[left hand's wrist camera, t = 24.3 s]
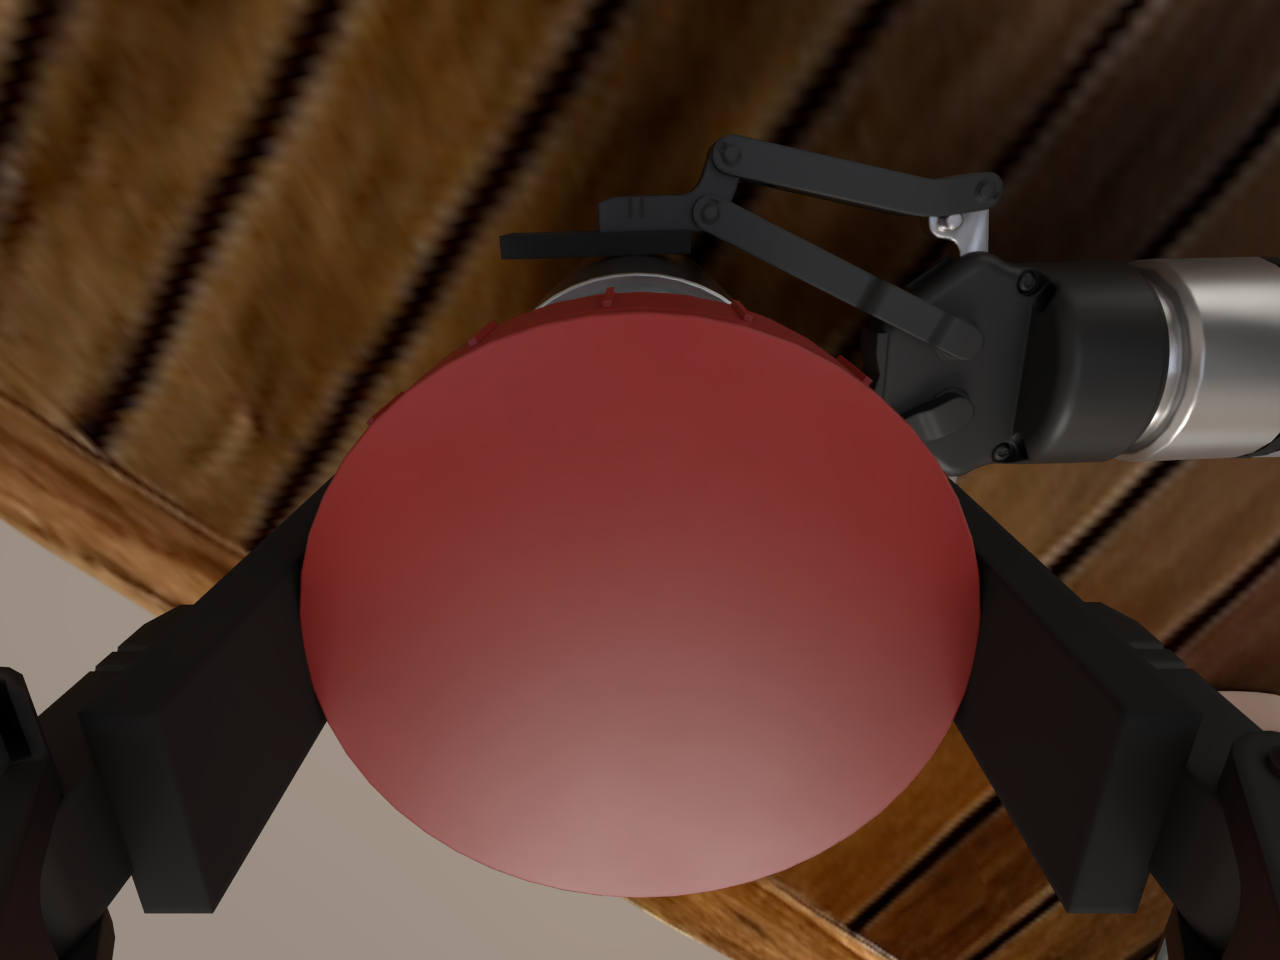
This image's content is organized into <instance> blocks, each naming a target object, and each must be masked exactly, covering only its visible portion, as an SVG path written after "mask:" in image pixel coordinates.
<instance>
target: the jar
mask: <svg viewBox="0 0 1280 960" xmlns="http://www.w3.org/2000/svg"><path fill="white" fill-rule="evenodd" d="M609 287H614V288H615V293H626V292H656V293H669V294H683V295H690V296H695V297H699V298H704V299H709V300H713V301H718V302H723V303H728V304H731V302H732V299H733V298H732V297H731V296H730V295H729V294H728V293H727V292H726V291H725V290H724V289H723V288H722V287H721V286H720V285H719V284H718V283H717V282H716V281H715V280H714V279H713V278H712V277H711V276H710V275H709V274H708V273H707V272H706V271H705V270H704V269H703V268H701V267H700V266H699V265H698V264H696V263H695V262H694V261H692V260H691V259H689V258H687V257H686V256H684V255H682V254H672V255H635V256H602V257H588V258H586V259H585V260H584V261H582V262H581V263H579V264H578V265H577V266H575V267H574V268H573V269H572V270H571V271H570V272H569V273H568V274H567V275H566V276H565V277H564V278H563V279H562V280H561V281H560V282H559V283H558V284H557V285H556V286H555V287H554V288H553V289H552V290H551V291H550V292H549V293H548V294H547V295H546V296H545V297H544V298H543V299H542V300H541V301H540V302H539V303H538V304H537V305H536V306H535V307H534V308H533V309H532V310H531V311H533V310H535V309H538V308H541V307H544V306H547V305H550V304H553V303H556V302H561V301H566V300H571V299H576V298H581V297H586V296H592V295H597V294H605V292H606V290H607V288H609Z"/></svg>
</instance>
